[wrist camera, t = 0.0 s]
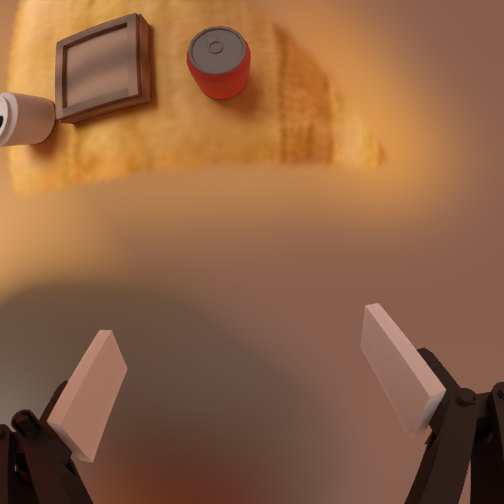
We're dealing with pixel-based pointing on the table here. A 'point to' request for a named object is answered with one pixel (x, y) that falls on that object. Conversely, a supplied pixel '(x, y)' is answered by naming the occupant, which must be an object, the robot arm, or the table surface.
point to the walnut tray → (103, 69)
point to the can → (24, 119)
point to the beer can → (219, 61)
